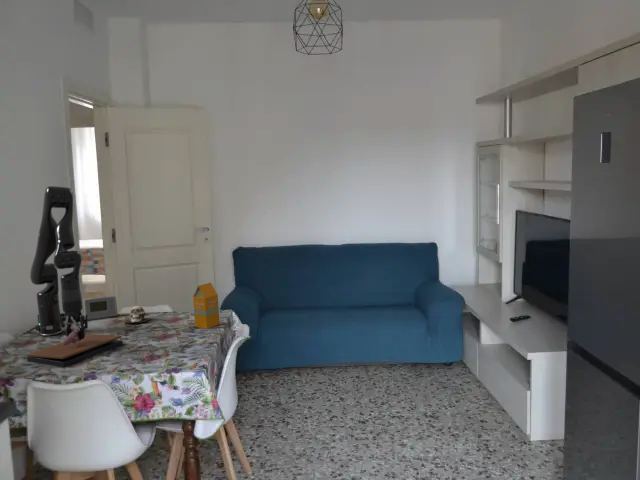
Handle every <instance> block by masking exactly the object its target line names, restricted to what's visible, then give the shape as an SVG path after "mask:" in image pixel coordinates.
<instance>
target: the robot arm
mask: <svg viewBox="0 0 640 480" xmlns="http://www.w3.org/2000/svg"><path fill="white" fill-rule="evenodd" d="M52 209H64V214H63V215H62V217H61V218H60V220H59V221H57V220H56V218H55V217H54V214H53V211H52ZM75 245H76V241H75V233H74V193H73V190H72V188H70V187H68V186H57V185H56V186H53V185H49V186H47V187H46V188H45V190H44V194H43V204H42V213H41V219H40V225H39V229H38V235H37V242H36V248H35V253H34V257H33V260H32V264H31V268H30V272H29V273H30V274H29V276H30V277H29V279H30V282H31V283H32V284H33V285H36V286H41V285H46V286H45V287H44V288H43V289H41V290H40V291H38V292H36V303H37V312H38V314H37V325H34V327H32V328H31V329H30V330H26V333H30V332H32V331H33V330H35V332H38V334H39V335H40V336H41V337H50V336H56V335H60V334H62V333H63V328H64V330H65V335H66V338H67V337H68V336H69V334H70V333H71V332H73V329H72V326H73V325H74V326H75V328H76V329H78V336H79V340H81V339H84V337H85V335H86V334H85V335H84V329H86V330H87V329H88V328H89V325H88V321H89V320H88V318H87V314H86V315H84V314H83V313H82V310H83V297H82V290H81V284H80V270H81V265H82V262H83V261H82V260H83V257H82V254H81V252H80V251H79V250H72V249H73V248H74V247H75ZM53 254H54V256H53V263H52V262H49V263H46V262H47V261H48V259H49V258H50V257H51V256H52V255H53ZM64 269H65V270H67V269H72V270H71V271H70V272H68V273H65V274H62V275H61V276H60V279H59V272H58V270H64ZM59 280H60V286H59ZM59 287H60V289H59ZM59 291H61V292H60V295H61V297H59ZM60 298H61V306H62V312H61V307H60Z"/></svg>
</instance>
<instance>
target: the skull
mask: <svg viewBox="0 0 640 480" xmlns="http://www.w3.org/2000/svg"><path fill="white" fill-rule="evenodd" d="M129 316H130V318H131V319H127V320H125V321H124V323H126V324H139V323H140V324H141V323H146V322H147V323H148V322H149V321H151V318H148V317H145V316H146V311H145V309H144V308H143V307H142V306H140V305H134V306H133V307H132V308H131V310H130V314H129Z"/></svg>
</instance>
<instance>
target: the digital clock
mask: <svg viewBox="0 0 640 480" xmlns="http://www.w3.org/2000/svg"><path fill="white" fill-rule="evenodd" d="M117 303H118V302H117V296H116V295H106V296H98V297H89V298H84V299H82V306H83V311H84V312H83V315H86V314H87V318H88V321H91V320H92V321H95V320H103V319H110V318H114V317H118V315H119V312H118V304H117Z"/></svg>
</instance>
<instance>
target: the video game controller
mask: <svg viewBox="0 0 640 480" xmlns="http://www.w3.org/2000/svg"><path fill="white" fill-rule="evenodd" d="M87 333H88V330H87V329H84V335H86V334H87ZM77 341H81V340H79V336H78V329H77V328H76V329H74V330H72V332H71V333H70V334H69V336H68V337H67V336H66V337H65V338H64V339H63V341H62V343H63V345H68V344H70V343H71V342H72V343H74V344H75V343H76V342H77Z"/></svg>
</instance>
